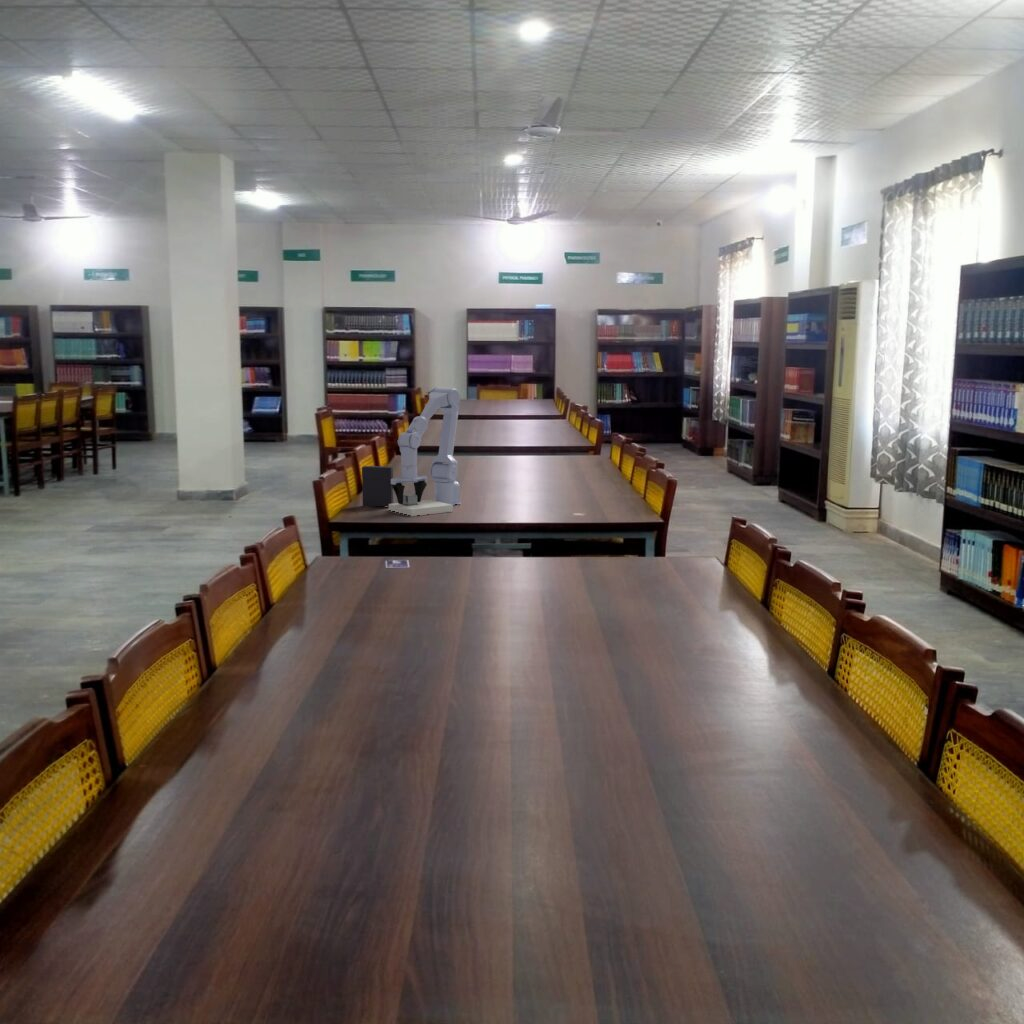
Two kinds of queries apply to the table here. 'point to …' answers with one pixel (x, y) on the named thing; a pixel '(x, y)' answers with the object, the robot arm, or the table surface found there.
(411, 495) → the pin
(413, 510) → the slot board
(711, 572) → the table surface
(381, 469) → the dark grey rectangular block
